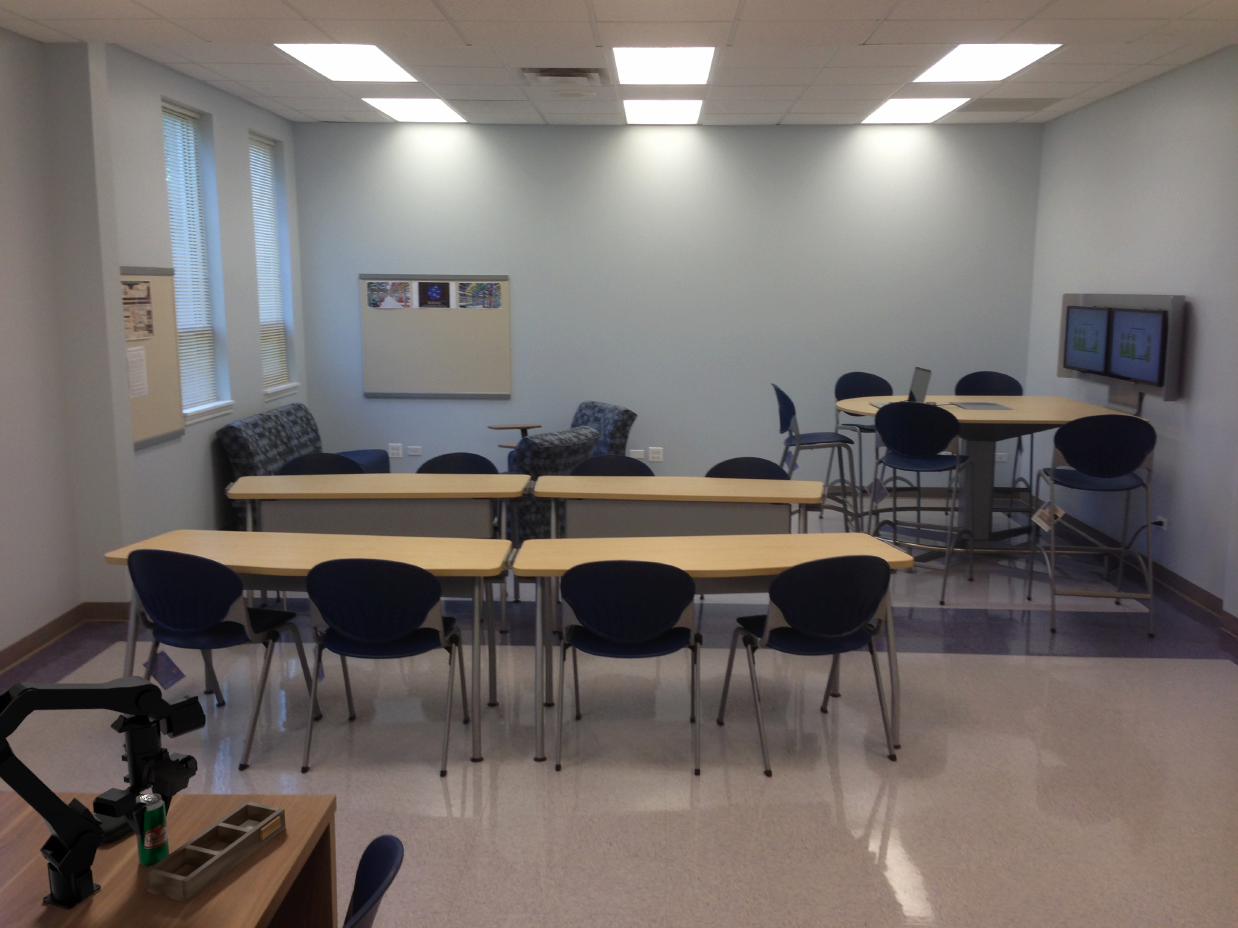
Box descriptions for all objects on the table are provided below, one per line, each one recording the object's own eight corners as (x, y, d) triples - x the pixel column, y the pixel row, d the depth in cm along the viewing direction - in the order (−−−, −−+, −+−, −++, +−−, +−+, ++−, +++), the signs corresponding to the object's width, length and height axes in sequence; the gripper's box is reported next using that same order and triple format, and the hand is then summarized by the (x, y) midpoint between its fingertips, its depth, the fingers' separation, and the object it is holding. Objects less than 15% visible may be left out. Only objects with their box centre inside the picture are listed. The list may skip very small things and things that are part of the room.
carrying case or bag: (133, 800, 198) (68, 836, 184) (132, 786, 197) (66, 822, 184) (172, 811, 194) (108, 848, 180) (170, 797, 193) (106, 833, 180)
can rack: (147, 891, 166) (145, 870, 166) (248, 819, 190) (246, 800, 189) (191, 903, 163) (189, 881, 163) (288, 828, 186) (286, 809, 186)
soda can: (147, 871, 173) (141, 809, 171) (133, 861, 176) (127, 800, 174) (174, 858, 177) (169, 797, 175) (160, 848, 180) (155, 789, 178)
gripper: (136, 777, 161) (144, 863, 164) (217, 731, 178) (223, 809, 181) (86, 767, 165) (95, 851, 167) (170, 722, 182) (177, 799, 185)
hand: (151, 826), depth 175 cm, fingers closed on soda can, 5 cm apart
